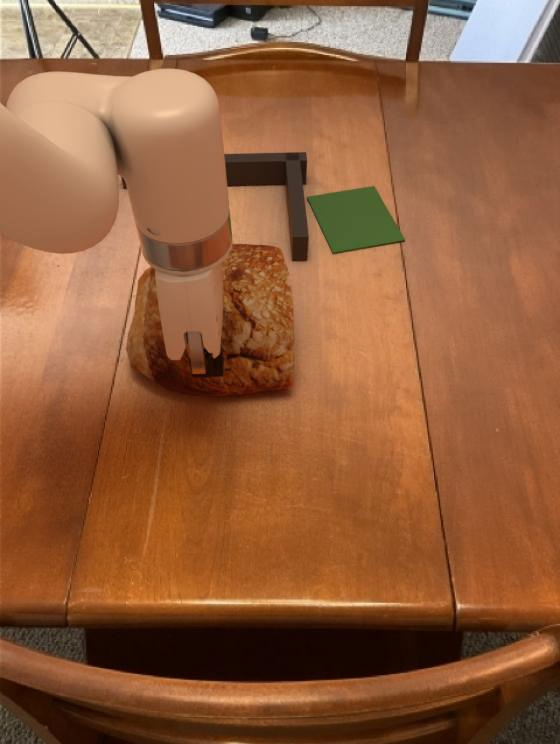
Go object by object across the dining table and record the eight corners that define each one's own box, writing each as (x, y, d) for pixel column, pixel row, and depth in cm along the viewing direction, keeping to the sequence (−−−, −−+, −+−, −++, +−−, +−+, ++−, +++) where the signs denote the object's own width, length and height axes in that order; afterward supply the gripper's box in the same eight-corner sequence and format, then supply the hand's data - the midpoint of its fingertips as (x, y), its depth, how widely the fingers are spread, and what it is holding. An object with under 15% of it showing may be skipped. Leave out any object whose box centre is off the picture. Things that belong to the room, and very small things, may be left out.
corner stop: (111, 266, 86) (105, 242, 83) (124, 180, 98) (119, 156, 94) (315, 260, 87) (316, 236, 84) (305, 176, 98) (306, 151, 95)
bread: (294, 400, 73) (297, 339, 66) (125, 406, 73) (107, 345, 65) (285, 270, 86) (287, 206, 78) (141, 274, 86) (128, 209, 78)
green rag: (332, 254, 88) (332, 252, 88) (306, 198, 95) (306, 196, 95) (404, 241, 90) (405, 239, 89) (374, 187, 97) (374, 185, 97)
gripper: (147, 176, 60) (176, 318, 74) (129, 298, 50) (166, 433, 65) (232, 173, 60) (244, 316, 74) (230, 295, 50) (244, 430, 65)
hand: (208, 370), depth 69 cm, fingers closed
